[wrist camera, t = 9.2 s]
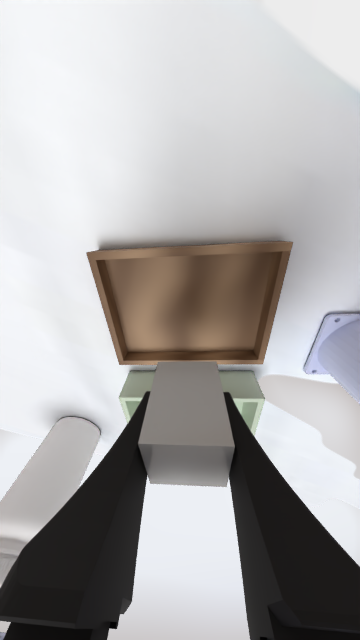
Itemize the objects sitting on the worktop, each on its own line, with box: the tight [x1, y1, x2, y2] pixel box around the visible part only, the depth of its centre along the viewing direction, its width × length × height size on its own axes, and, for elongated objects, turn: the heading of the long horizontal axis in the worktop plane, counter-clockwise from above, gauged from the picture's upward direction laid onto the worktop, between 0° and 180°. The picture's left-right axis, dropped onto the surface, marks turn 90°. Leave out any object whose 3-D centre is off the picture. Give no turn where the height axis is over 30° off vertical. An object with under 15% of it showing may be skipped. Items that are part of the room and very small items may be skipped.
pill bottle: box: [0, 417, 100, 588], centre depth 23 cm, size 8×8×15 cm
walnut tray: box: [87, 241, 293, 365], centre depth 16 cm, size 16×12×2 cm
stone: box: [138, 361, 235, 487], centre depth 10 cm, size 4×4×5 cm
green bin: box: [119, 371, 265, 435], centre depth 23 cm, size 16×12×4 cm
